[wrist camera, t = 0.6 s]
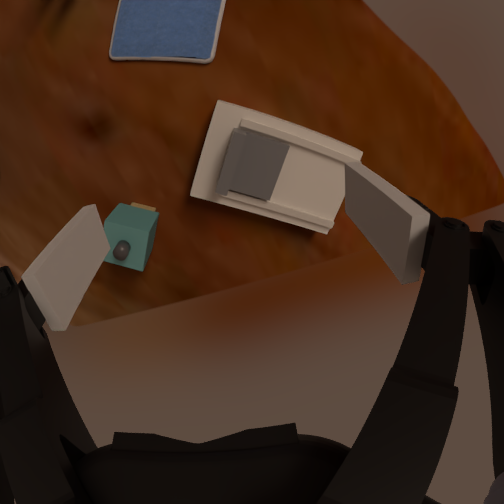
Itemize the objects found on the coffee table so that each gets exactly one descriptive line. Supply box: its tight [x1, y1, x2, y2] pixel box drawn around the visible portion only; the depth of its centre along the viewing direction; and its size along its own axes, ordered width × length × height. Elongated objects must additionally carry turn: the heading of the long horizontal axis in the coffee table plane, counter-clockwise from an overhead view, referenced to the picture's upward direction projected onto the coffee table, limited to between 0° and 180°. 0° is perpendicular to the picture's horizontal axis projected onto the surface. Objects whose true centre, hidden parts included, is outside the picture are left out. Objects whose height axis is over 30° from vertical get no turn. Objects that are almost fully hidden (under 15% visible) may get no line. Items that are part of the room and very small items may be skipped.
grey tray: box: [190, 100, 363, 234], centre depth 34 cm, size 17×11×4 cm, turn 72°
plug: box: [103, 202, 159, 271], centre depth 33 cm, size 5×5×10 cm
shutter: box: [215, 128, 290, 201], centre depth 31 cm, size 6×6×3 cm
